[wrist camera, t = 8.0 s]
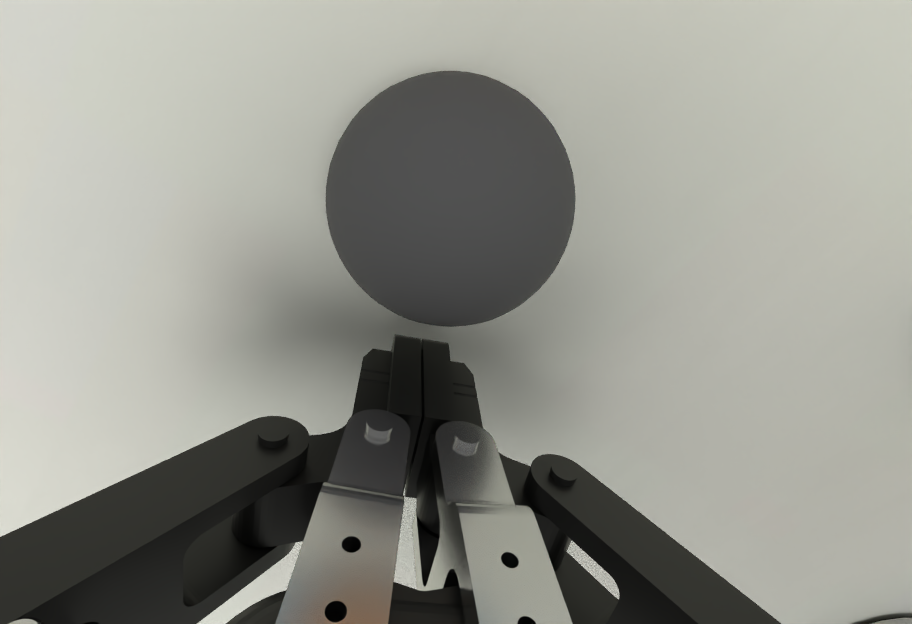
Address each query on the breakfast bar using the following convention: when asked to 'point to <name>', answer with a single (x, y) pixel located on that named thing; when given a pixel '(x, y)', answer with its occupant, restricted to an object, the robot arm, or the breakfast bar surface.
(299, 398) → the breakfast bar surface
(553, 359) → the breakfast bar surface
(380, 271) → the ball
